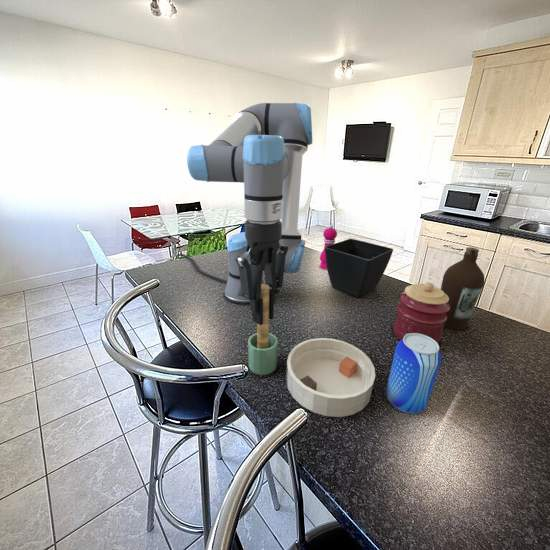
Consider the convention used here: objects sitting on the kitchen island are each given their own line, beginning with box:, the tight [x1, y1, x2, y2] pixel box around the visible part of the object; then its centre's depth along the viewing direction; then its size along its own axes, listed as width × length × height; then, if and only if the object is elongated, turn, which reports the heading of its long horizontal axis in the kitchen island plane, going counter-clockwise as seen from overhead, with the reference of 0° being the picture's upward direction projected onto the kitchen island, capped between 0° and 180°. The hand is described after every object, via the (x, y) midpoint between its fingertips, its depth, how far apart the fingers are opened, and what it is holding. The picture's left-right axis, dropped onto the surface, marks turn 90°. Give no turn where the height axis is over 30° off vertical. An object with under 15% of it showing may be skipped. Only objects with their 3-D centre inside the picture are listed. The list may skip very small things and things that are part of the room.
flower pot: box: [325, 238, 394, 298], centre depth 113 cm, size 19×19×17 cm
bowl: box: [285, 337, 376, 418], centre depth 68 cm, size 20×20×6 cm
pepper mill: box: [319, 224, 338, 270], centre depth 131 cm, size 7×7×20 cm
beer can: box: [385, 333, 443, 414], centre depth 61 cm, size 8×8×16 cm
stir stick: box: [256, 283, 270, 349], centre depth 68 cm, size 3×3×18 cm
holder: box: [247, 332, 279, 376], centre depth 72 cm, size 7×7×8 cm
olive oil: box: [440, 246, 485, 331], centre depth 90 cm, size 11×11×25 cm
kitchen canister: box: [392, 281, 450, 344], centre depth 84 cm, size 13×13×18 cm
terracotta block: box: [339, 357, 357, 378], centre depth 71 cm, size 3×3×3 cm
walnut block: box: [300, 376, 317, 391], centre depth 65 cm, size 3×3×3 cm
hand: (262, 319), depth 68 cm, fingers closed on stir stick, 3 cm apart
